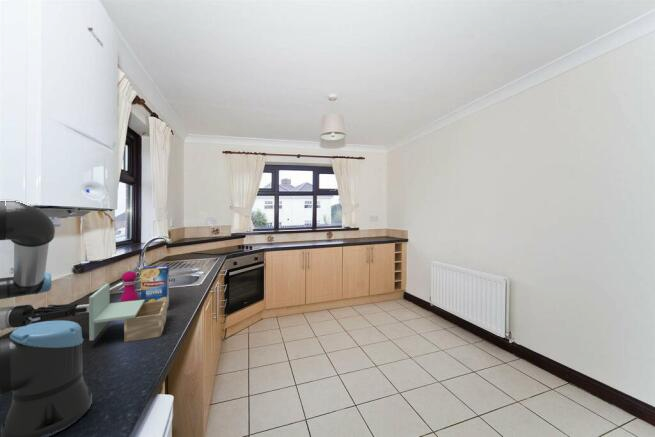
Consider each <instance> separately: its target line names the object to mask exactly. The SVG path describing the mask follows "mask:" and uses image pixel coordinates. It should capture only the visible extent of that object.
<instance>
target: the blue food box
mask: <svg viewBox="0 0 655 437" xmlns="http://www.w3.org/2000/svg"><path fill="white" fill-rule="evenodd" d="M169 269H170V265H169V264H163V265H149V266H148V265H147V266H143V267H142V268H141V269H140V300H145V302H144V303H146V302H154V301H163V300H166V312H167V311H168V310H169V307H170V303H169V302H170V298H169V297H170V294H169V293H170V290H169V289H170V281H169V280H170V278H169V277H170V275H169V274H170V272H169V271H170V270H169Z"/></svg>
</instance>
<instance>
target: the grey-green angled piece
mask: <svg viewBox="0 0 655 437" xmlns="http://www.w3.org/2000/svg"><path fill="white" fill-rule="evenodd" d="M110 289H111V288H110V283H105V284H104V285H103V286H101V287H100V288H98V289H97V291H95V292H94V293H93V294H92V295H90V296H89V297H88V304H89V312H88V328H89V330H88V335H89V339H88V341H94V340H95V339H96V338H97V336H99V334H100V333H101V332H102V330H103V329H104V328H105V327H106V326H107V324H108V323H109V322H111V321H120V320H124V319H128V318H135V317H136V315H137V314H138V312H139V310H140V309H141V307H142V305H143V304H144V302H145V300H141V299H137V300H136V301H127V302H121V301H119V302H110V300H111V297H110V296H111V295H110V292H111V291H110Z"/></svg>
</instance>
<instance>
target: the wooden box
mask: <svg viewBox="0 0 655 437" xmlns="http://www.w3.org/2000/svg"><path fill="white" fill-rule="evenodd" d="M166 321H167V311H166V300H163V301H154V302H146V303H144V304H143V305H142V307H141V309H140V310H139V312H138V314H137V315H136V317H135V318H128V319H123V333H124V334H123V340H124V342H123V343H130V342H135V341H141V340H146V339H153V338H159V337H162V335H163V332H164V329H165V325H166Z"/></svg>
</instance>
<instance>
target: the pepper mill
mask: <svg viewBox="0 0 655 437" xmlns="http://www.w3.org/2000/svg"><path fill="white" fill-rule="evenodd" d="M136 279H137V273H136V272H135V271H132V269H131V268H128V269H127V270H126V272H124V273H123V274H122V276H121V280H122V281H123V282H122V285H123V286H124V288H123V292H122V294H121V296H120V301H119V302H127V301H136V300H139V297H138V296H139V295H138V293H137V291H136V289H135V284H136Z"/></svg>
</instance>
